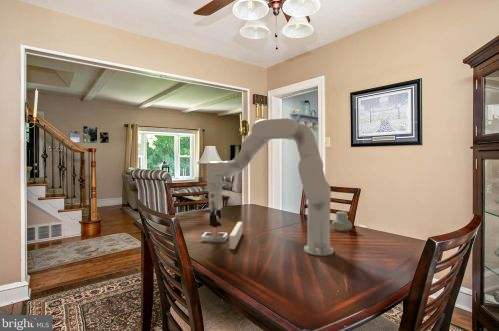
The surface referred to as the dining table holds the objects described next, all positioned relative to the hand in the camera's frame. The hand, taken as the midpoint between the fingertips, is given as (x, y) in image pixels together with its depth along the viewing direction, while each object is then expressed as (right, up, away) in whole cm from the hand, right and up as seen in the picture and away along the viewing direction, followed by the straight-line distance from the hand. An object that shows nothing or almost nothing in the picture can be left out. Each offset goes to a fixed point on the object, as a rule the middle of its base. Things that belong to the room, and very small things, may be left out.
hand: (215, 220), depth 135 cm
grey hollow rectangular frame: (0, -10, 0) cm, 10 cm away
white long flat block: (+11, -10, -1) cm, 14 cm away
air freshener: (+69, -9, +17) cm, 71 cm away
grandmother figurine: (0, -10, +1) cm, 10 cm away
